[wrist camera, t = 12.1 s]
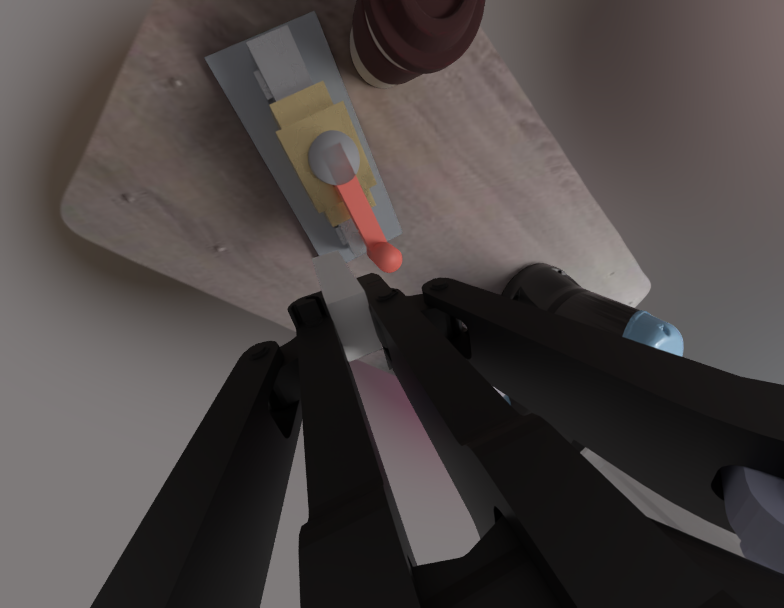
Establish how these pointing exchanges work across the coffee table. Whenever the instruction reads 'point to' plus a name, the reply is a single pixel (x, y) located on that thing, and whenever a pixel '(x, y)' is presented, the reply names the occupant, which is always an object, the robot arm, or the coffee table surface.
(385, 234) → the mount board
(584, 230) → the coffee table surface
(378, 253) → the lever
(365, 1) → the coffee cup
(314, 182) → the pipe valve
